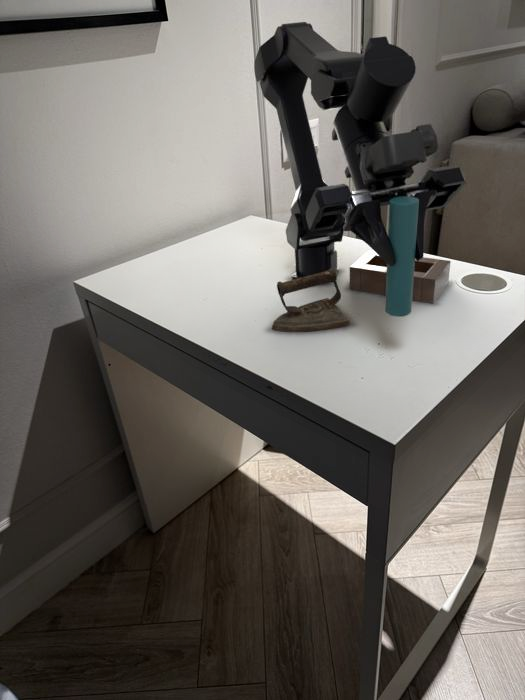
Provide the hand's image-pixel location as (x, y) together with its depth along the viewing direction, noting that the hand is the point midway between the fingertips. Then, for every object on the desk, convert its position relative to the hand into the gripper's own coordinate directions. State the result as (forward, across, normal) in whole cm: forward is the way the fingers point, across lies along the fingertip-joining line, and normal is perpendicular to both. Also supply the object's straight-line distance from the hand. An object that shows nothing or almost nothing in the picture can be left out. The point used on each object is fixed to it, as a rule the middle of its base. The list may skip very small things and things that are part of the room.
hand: (406, 262), depth 61 cm
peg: (+4, 0, +6) cm, 7 cm away
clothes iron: (-1, -8, +20) cm, 21 cm away
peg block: (-4, +10, +24) cm, 26 cm away
